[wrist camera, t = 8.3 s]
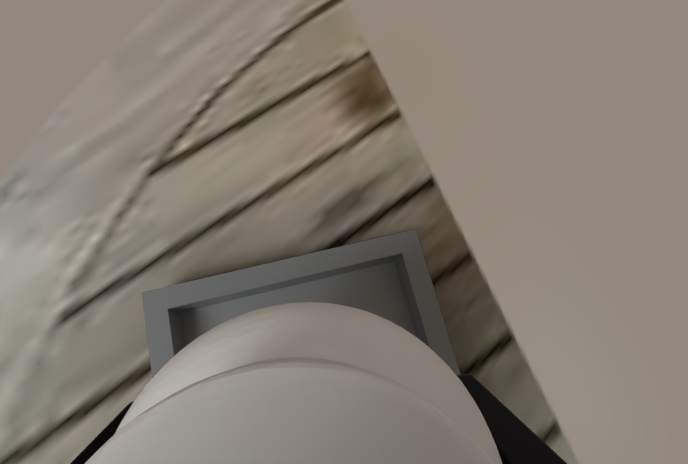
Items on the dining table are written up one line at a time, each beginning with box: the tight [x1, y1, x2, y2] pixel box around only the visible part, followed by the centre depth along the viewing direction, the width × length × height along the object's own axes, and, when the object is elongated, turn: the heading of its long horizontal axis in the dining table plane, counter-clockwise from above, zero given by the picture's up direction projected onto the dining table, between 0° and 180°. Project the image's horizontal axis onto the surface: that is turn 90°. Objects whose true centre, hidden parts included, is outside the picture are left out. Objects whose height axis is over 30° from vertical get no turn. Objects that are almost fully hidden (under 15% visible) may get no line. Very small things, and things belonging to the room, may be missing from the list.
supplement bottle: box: [85, 302, 502, 464], centre depth 9 cm, size 7×7×13 cm
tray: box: [142, 229, 461, 378], centre depth 18 cm, size 13×13×2 cm
